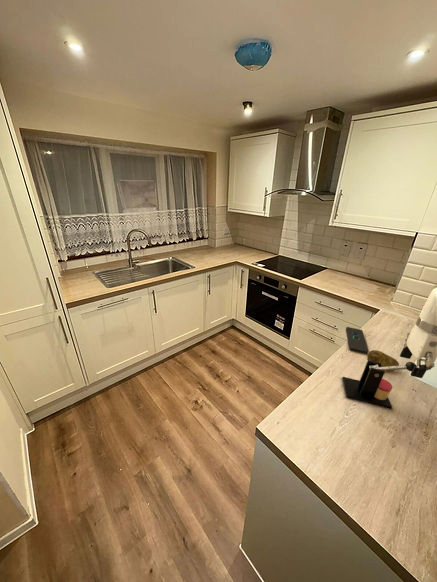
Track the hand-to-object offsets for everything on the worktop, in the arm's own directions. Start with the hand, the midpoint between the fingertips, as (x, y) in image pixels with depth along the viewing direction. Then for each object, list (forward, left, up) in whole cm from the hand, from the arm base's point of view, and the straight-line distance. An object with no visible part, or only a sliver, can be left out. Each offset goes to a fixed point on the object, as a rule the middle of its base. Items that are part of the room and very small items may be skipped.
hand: (410, 366), depth 82 cm
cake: (+5, 0, -15) cm, 16 cm away
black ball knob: (+4, 0, -4) cm, 5 cm away
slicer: (+10, 0, -17) cm, 19 cm away
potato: (0, -18, -17) cm, 25 cm away
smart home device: (+6, -36, -17) cm, 40 cm away
